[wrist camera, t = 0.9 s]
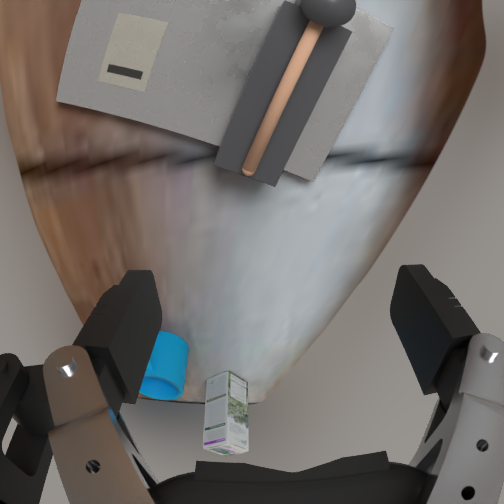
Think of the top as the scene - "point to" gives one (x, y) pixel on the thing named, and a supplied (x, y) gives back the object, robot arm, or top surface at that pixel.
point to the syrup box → (226, 415)
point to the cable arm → (284, 87)
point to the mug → (166, 368)
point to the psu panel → (202, 67)
